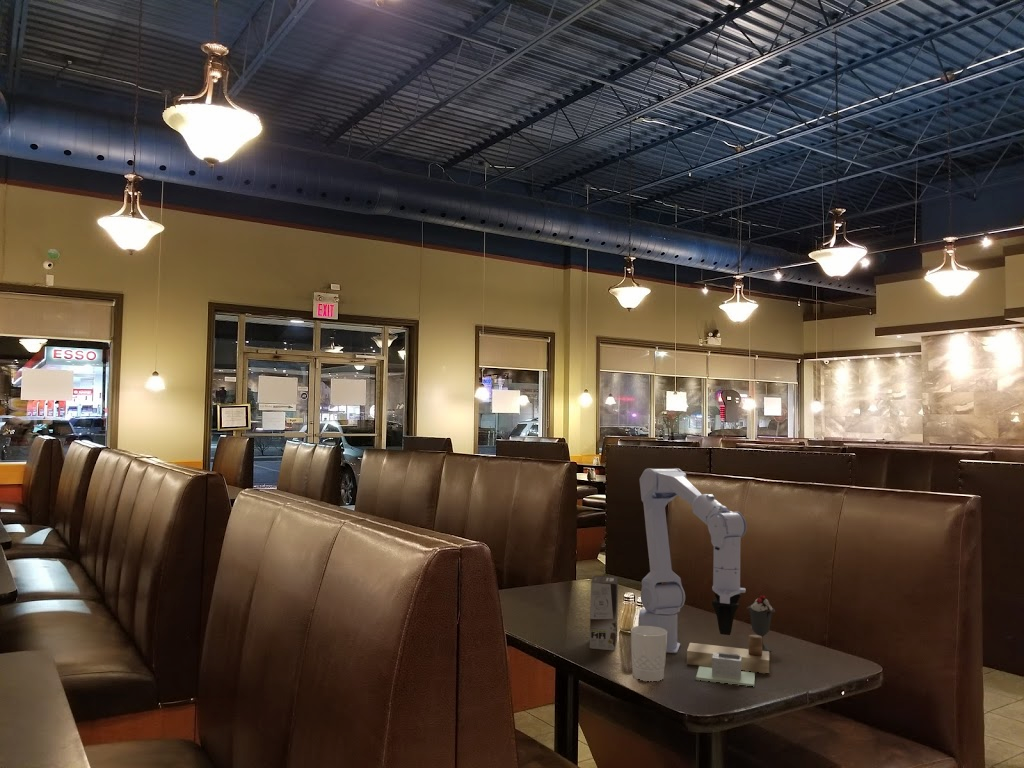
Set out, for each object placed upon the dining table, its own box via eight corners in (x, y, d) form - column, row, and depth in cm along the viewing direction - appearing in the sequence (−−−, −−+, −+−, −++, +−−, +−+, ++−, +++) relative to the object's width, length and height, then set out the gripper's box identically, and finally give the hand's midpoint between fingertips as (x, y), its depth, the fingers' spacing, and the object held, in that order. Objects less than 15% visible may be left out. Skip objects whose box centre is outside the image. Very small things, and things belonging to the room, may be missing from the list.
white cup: (641, 668, 171) (641, 623, 172) (673, 676, 166) (673, 630, 167) (623, 677, 165) (624, 630, 166) (655, 685, 160) (656, 637, 161)
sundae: (756, 654, 184) (757, 592, 184) (741, 646, 190) (741, 586, 191) (780, 653, 185) (780, 591, 186) (764, 645, 192) (764, 585, 192)
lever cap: (711, 676, 165) (712, 655, 165) (713, 670, 169) (713, 649, 169) (740, 680, 163) (740, 658, 163) (741, 673, 167) (741, 652, 168)
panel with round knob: (686, 663, 175) (687, 633, 176) (689, 655, 182) (690, 625, 182) (769, 673, 169) (769, 642, 170) (769, 664, 176) (769, 634, 176)
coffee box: (615, 651, 184) (616, 583, 185) (588, 649, 185) (590, 582, 186) (617, 640, 193) (618, 576, 194) (592, 638, 194) (593, 574, 195)
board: (696, 679, 164) (696, 677, 164) (699, 668, 172) (699, 666, 172) (754, 687, 161) (754, 684, 161) (754, 675, 168) (754, 672, 168)
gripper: (744, 574, 159) (744, 640, 159) (746, 563, 173) (746, 623, 172) (710, 571, 162) (709, 636, 161) (714, 560, 175) (714, 620, 175)
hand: (726, 629), depth 167 cm, fingers open, 7 cm apart
